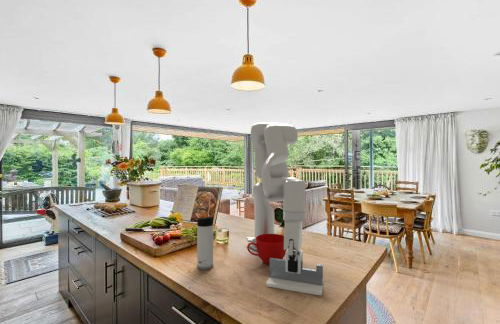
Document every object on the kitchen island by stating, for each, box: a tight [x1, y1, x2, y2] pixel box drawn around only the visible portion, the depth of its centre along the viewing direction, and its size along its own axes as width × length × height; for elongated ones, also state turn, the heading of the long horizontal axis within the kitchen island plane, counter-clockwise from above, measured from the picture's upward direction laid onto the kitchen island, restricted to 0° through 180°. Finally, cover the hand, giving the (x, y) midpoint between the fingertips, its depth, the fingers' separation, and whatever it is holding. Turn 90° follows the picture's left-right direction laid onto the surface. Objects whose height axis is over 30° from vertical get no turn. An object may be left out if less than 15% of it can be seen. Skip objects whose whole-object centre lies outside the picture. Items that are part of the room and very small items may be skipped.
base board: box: [265, 277, 324, 296], centre depth 87 cm, size 18×10×1 cm, turn 71°
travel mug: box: [196, 216, 214, 271], centre depth 100 cm, size 6×7×20 cm
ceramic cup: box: [246, 233, 287, 266], centre depth 104 cm, size 13×17×10 cm
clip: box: [284, 249, 304, 274], centre depth 87 cm, size 5×5×6 cm
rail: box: [269, 258, 324, 287], centre depth 87 cm, size 18×1×6 cm, turn 71°
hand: (294, 267), depth 87 cm, fingers closed on clip, 5 cm apart
